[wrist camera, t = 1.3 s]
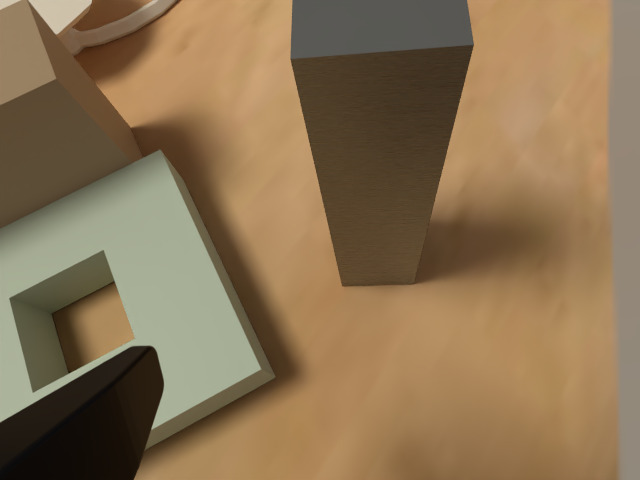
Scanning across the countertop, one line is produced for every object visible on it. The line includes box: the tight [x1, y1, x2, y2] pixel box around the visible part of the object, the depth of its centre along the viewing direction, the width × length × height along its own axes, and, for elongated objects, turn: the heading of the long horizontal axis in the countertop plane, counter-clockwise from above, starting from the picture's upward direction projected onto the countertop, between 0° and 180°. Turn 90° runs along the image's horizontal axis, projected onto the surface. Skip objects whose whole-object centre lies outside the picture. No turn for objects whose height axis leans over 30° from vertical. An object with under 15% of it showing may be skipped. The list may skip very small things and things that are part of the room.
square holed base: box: [0, 0, 276, 450], centre depth 20 cm, size 17×13×9 cm
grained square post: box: [291, 0, 474, 286], centre depth 16 cm, size 3×3×15 cm
